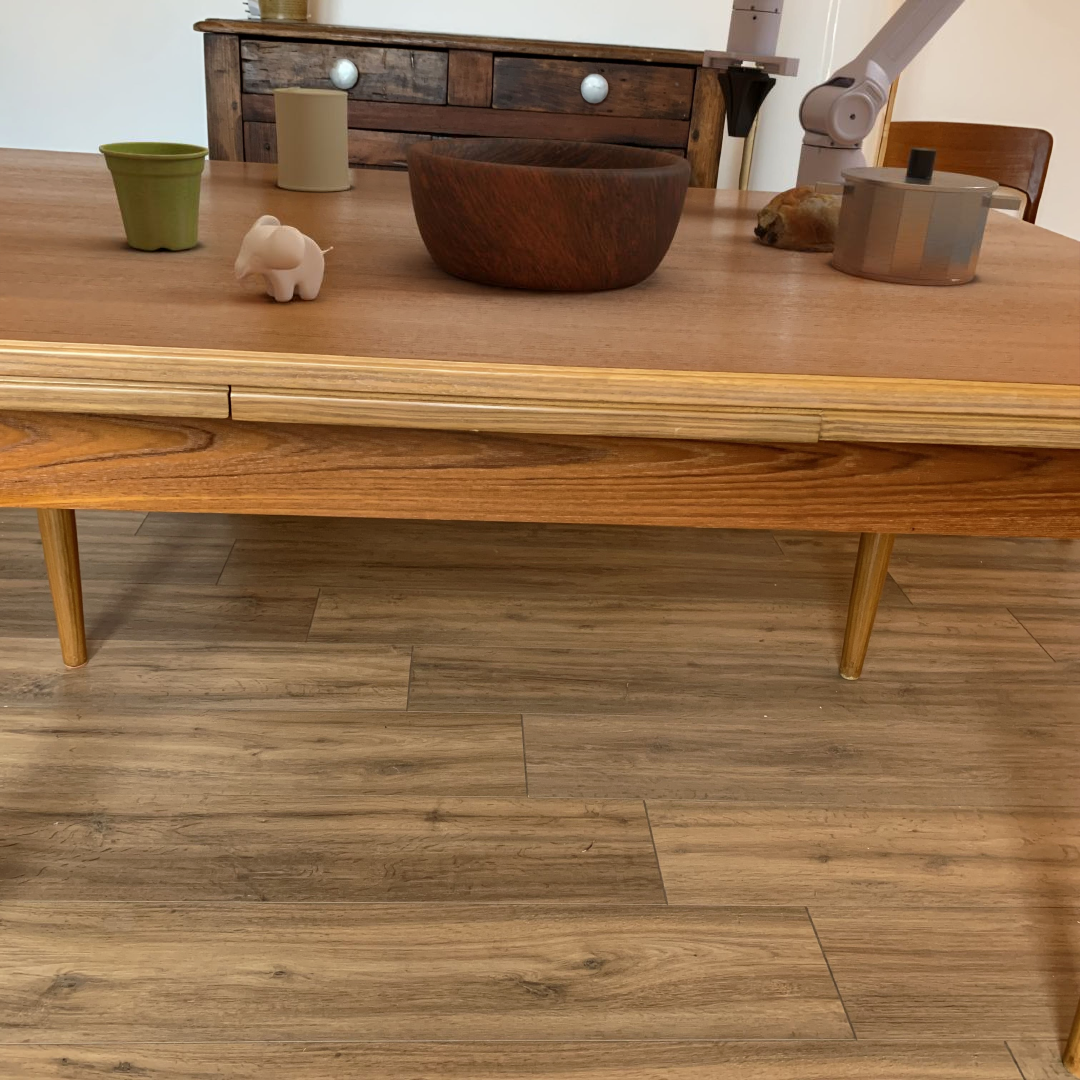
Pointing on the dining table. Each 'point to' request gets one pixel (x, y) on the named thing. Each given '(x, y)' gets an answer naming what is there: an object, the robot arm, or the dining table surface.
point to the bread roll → (800, 220)
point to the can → (312, 139)
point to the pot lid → (920, 176)
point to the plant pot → (157, 191)
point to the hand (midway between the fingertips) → (737, 137)
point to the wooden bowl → (546, 210)
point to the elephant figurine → (280, 260)
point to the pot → (910, 232)
